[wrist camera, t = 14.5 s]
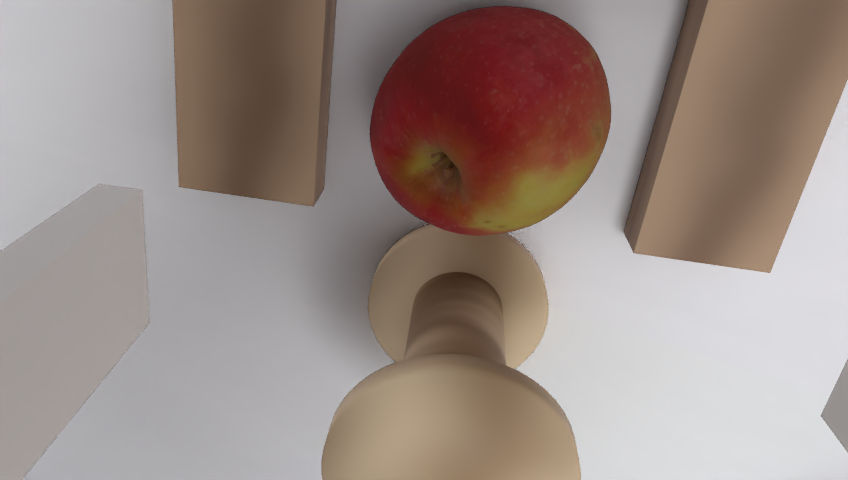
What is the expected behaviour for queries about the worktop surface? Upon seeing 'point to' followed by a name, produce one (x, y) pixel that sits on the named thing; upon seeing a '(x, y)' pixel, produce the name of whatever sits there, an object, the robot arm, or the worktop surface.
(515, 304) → the bobbin
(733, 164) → the notched board
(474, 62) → the apple
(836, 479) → the worktop surface
